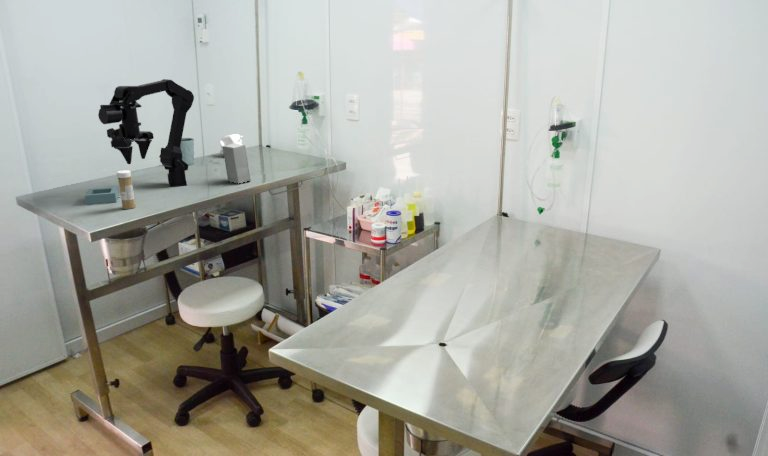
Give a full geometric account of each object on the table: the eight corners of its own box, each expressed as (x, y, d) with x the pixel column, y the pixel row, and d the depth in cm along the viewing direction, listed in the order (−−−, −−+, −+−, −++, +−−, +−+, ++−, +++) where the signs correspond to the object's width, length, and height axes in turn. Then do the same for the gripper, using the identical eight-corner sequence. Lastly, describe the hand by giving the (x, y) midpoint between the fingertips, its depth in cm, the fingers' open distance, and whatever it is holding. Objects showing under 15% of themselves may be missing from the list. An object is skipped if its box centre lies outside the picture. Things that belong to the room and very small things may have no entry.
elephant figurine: (240, 161, 290) (231, 141, 291) (256, 147, 277) (247, 126, 278) (219, 165, 282) (210, 144, 282) (235, 151, 269) (226, 129, 269)
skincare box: (251, 181, 234) (248, 144, 229) (236, 185, 230) (233, 147, 224) (239, 178, 240) (236, 142, 235) (225, 181, 235) (221, 144, 230)
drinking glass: (170, 165, 264) (166, 140, 260) (181, 161, 273) (178, 137, 269) (189, 166, 262) (186, 141, 258) (200, 162, 271) (197, 138, 267)
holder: (118, 195, 215) (117, 186, 214) (116, 202, 206) (114, 193, 205) (90, 197, 212) (88, 189, 210) (86, 204, 203) (84, 195, 201)
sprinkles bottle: (120, 207, 199) (114, 171, 195) (132, 205, 202) (126, 169, 198) (126, 210, 196) (120, 173, 192) (138, 207, 200) (132, 171, 195)
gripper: (125, 116, 217) (131, 155, 223) (94, 124, 200) (101, 166, 205) (151, 117, 215) (157, 156, 221) (121, 124, 198) (129, 167, 203)
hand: (136, 161), depth 213 cm, fingers open, 9 cm apart
